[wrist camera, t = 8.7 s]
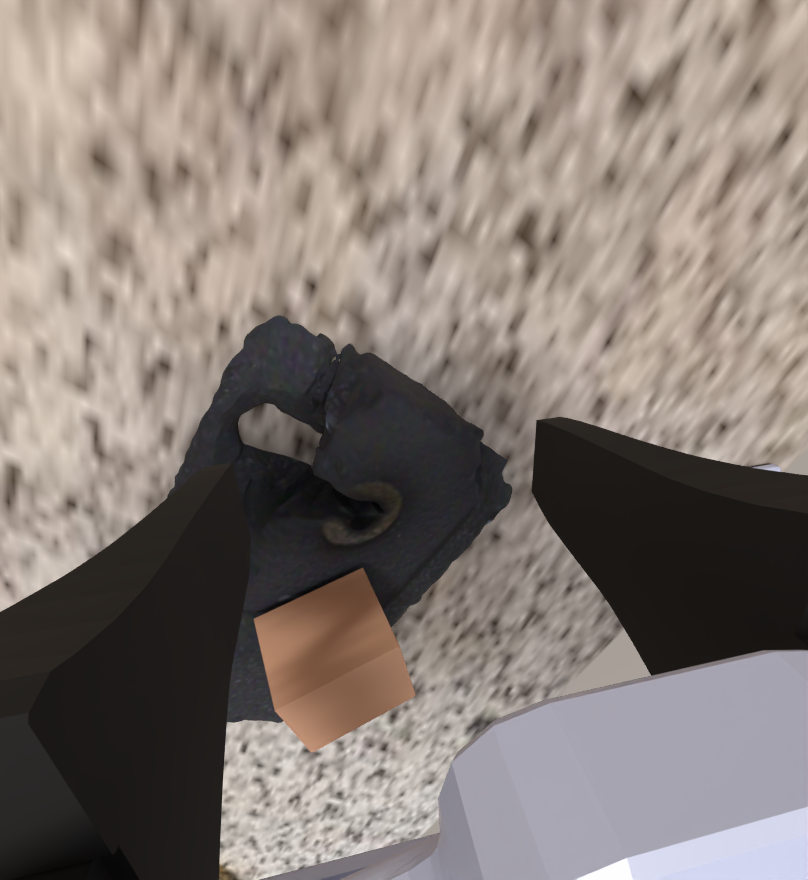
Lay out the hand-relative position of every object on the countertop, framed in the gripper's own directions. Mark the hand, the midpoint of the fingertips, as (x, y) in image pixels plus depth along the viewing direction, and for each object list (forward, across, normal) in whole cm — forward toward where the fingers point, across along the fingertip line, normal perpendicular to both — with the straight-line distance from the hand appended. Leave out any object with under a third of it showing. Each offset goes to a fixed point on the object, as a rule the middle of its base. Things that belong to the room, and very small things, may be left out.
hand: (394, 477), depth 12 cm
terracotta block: (+7, +3, +12) cm, 14 cm away
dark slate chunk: (+11, +4, +10) cm, 16 cm away
